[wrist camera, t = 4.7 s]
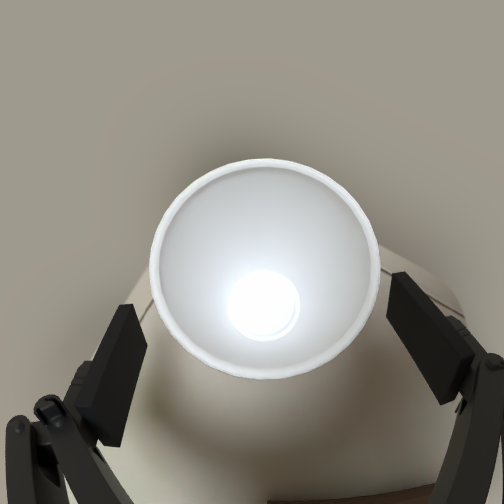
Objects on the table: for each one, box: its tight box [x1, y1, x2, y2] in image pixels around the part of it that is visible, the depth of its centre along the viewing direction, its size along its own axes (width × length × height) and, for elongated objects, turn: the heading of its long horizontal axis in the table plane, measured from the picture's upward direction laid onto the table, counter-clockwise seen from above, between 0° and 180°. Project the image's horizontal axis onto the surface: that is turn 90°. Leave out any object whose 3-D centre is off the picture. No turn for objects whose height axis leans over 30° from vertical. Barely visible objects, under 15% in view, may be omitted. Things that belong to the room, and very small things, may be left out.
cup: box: [149, 159, 381, 380], centre depth 18 cm, size 10×10×11 cm
